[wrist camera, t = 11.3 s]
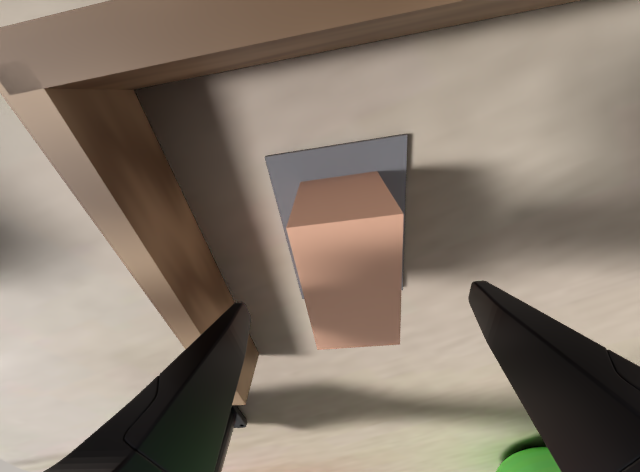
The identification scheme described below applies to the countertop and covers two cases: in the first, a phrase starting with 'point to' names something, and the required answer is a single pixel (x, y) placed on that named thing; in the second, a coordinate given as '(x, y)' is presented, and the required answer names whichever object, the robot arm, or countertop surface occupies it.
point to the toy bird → (530, 461)
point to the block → (349, 259)
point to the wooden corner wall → (136, 133)
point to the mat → (339, 171)
